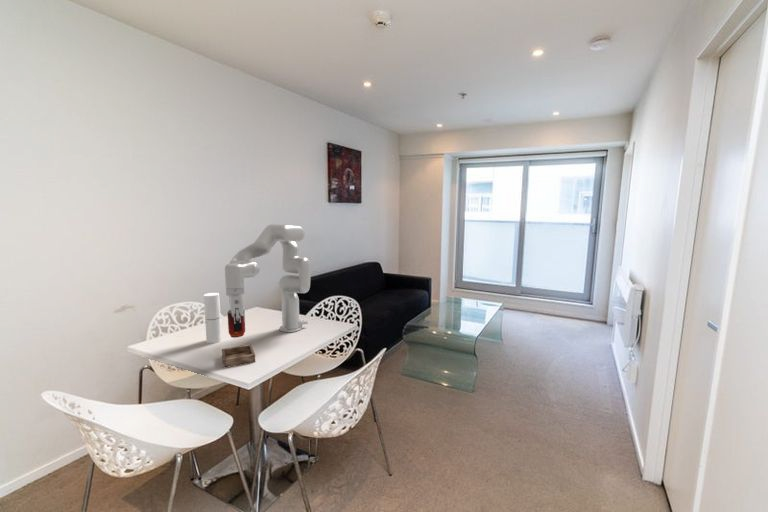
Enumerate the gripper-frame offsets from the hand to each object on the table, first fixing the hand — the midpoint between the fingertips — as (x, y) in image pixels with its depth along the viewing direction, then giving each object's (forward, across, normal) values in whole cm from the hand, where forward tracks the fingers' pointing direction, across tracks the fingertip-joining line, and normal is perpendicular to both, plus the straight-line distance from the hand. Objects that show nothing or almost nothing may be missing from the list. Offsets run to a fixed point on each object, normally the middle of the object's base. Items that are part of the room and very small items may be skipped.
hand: (236, 328), depth 155 cm
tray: (+15, 0, 0) cm, 15 cm away
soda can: (+3, 0, 0) cm, 3 cm away
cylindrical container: (+15, +29, +9) cm, 34 cm away
